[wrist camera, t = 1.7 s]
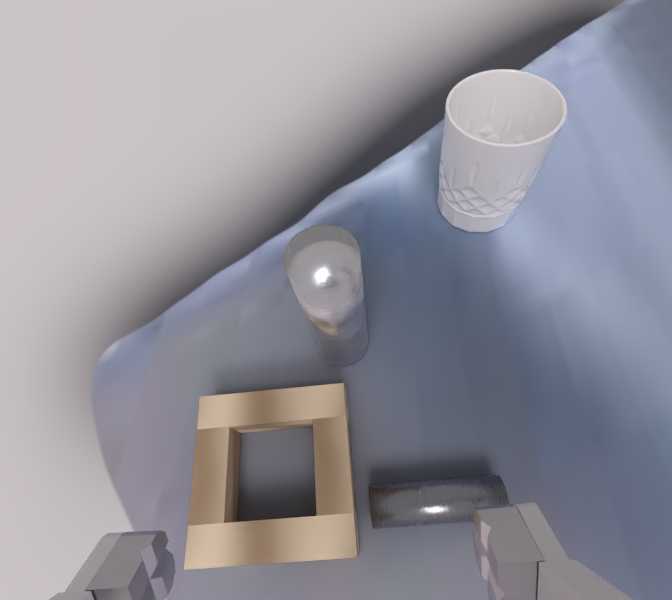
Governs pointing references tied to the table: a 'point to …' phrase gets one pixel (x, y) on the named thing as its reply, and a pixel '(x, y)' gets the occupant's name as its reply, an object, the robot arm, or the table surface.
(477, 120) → the white cup
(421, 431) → the table surface
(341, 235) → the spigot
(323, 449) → the socket block
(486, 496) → the pin
